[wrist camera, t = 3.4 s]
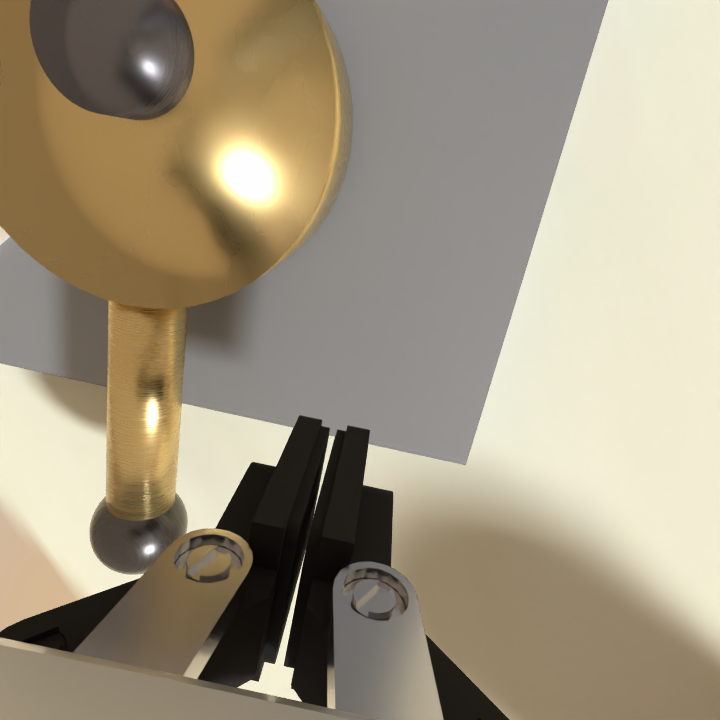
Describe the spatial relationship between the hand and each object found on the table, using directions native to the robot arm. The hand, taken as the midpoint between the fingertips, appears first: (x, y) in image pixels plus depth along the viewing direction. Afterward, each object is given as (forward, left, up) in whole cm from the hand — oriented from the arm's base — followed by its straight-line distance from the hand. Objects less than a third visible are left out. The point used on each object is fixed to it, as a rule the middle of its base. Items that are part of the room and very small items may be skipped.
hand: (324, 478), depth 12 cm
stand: (-9, -4, -5) cm, 11 cm away
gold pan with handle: (-3, -5, -3) cm, 7 cm away
